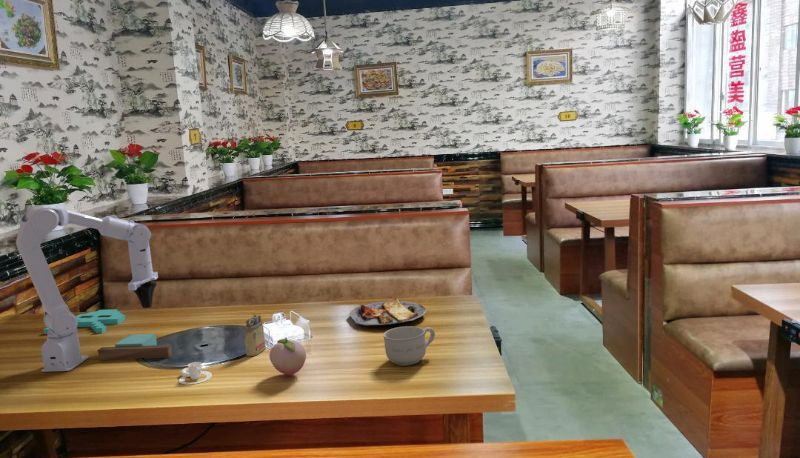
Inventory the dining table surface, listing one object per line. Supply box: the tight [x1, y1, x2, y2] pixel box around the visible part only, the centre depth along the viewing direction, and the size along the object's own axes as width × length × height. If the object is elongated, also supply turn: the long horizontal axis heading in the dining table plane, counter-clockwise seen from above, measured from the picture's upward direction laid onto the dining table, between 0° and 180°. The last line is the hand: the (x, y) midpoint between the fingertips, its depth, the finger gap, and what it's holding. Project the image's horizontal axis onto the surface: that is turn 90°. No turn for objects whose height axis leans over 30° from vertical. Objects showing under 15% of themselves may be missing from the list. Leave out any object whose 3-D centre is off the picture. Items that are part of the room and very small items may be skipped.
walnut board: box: [97, 344, 172, 361], centre depth 166 cm, size 2×20×3 cm, turn 87°
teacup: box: [382, 325, 436, 367], centre depth 151 cm, size 14×11×8 cm
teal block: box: [114, 333, 158, 347], centre depth 171 cm, size 8×8×4 cm
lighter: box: [243, 314, 267, 357], centre depth 164 cm, size 7×4×10 cm, turn 163°
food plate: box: [348, 297, 427, 326], centre depth 188 cm, size 25×23×4 cm
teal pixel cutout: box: [43, 308, 126, 335], centre depth 200 cm, size 20×2×20 cm
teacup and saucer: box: [178, 361, 213, 386], centre depth 149 cm, size 9×8×4 cm
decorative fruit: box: [268, 336, 307, 377], centre depth 146 cm, size 9×8×10 cm
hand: (147, 307), depth 178 cm, fingers closed
